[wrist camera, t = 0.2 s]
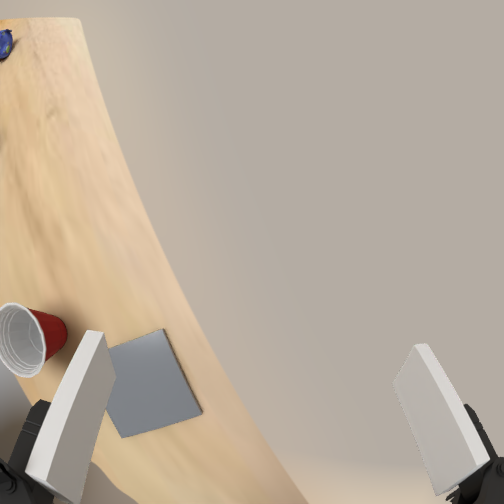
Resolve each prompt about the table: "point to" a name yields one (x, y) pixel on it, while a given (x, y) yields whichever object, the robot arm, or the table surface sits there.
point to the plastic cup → (28, 338)
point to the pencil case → (5, 43)
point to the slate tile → (148, 386)
